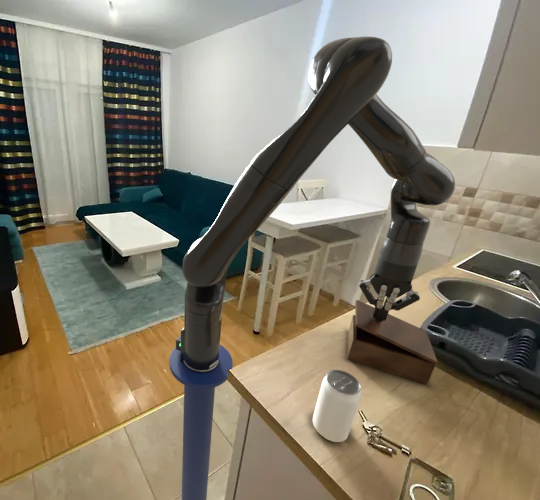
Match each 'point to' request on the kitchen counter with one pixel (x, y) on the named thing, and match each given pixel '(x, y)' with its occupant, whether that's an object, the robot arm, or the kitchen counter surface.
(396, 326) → the tray cover
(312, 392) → the kitchen counter surface
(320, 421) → the can
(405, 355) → the tray box
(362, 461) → the kitchen counter surface
